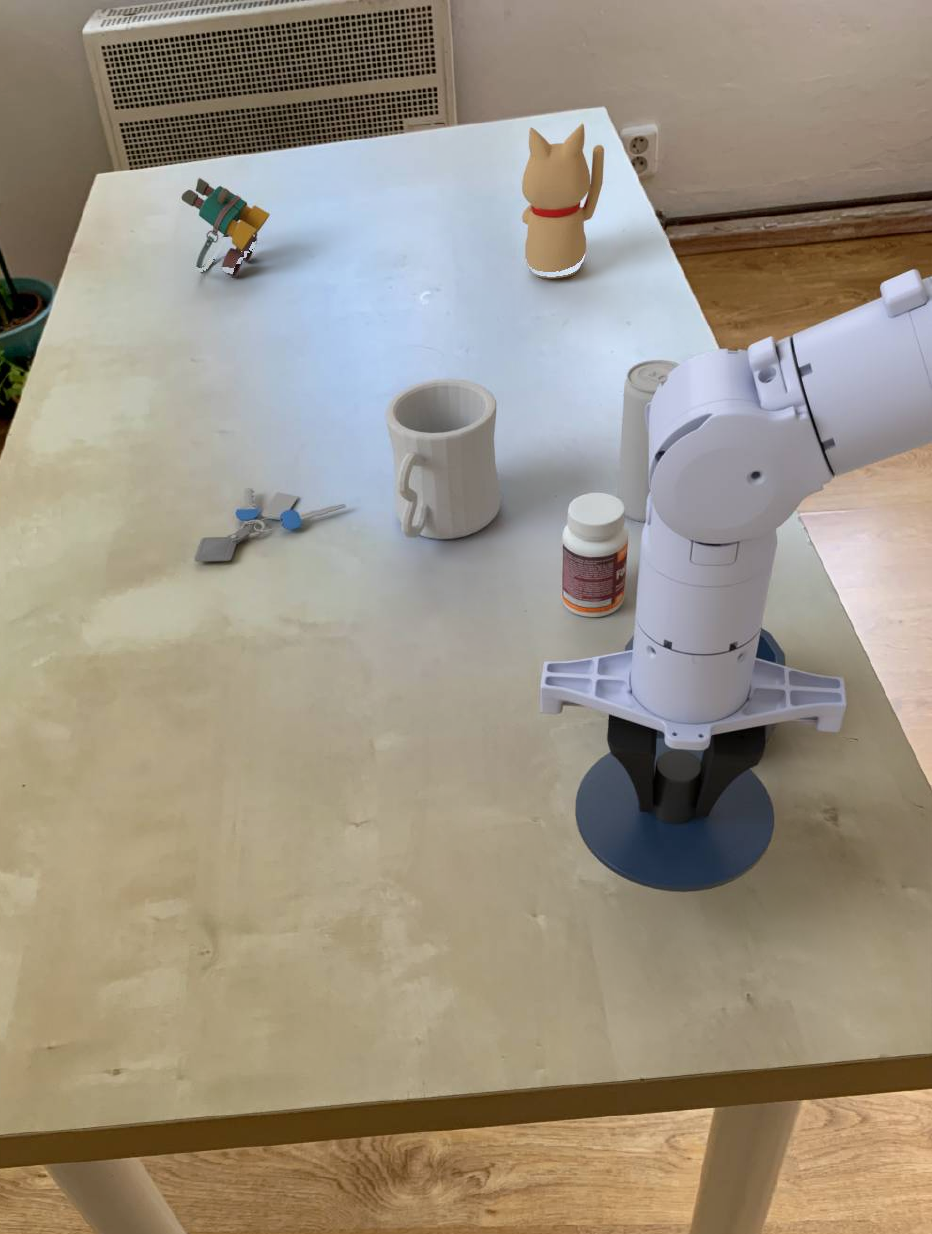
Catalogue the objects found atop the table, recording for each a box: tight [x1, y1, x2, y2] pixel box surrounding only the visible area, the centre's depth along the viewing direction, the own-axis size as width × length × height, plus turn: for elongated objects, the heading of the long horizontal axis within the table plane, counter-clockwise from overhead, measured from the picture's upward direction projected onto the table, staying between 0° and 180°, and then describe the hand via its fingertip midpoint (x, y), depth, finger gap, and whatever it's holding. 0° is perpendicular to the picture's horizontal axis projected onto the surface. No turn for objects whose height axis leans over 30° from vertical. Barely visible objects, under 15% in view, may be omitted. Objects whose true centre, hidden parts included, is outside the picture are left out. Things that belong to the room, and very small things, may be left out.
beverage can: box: [617, 359, 681, 523], centre depth 87 cm, size 5×5×12 cm
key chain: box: [194, 487, 347, 563], centre depth 96 cm, size 14×8×1 cm, turn 121°
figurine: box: [521, 123, 605, 279], centre depth 117 cm, size 9×10×15 cm
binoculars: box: [181, 177, 271, 279], centre depth 130 cm, size 9×9×10 cm
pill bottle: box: [560, 492, 629, 618], centre depth 81 cm, size 5×5×8 cm
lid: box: [574, 738, 775, 893], centre depth 60 cm, size 11×11×5 cm
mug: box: [384, 378, 502, 540], centre depth 89 cm, size 12×9×10 cm
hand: (673, 800), depth 61 cm, fingers closed on lid, 2 cm apart
